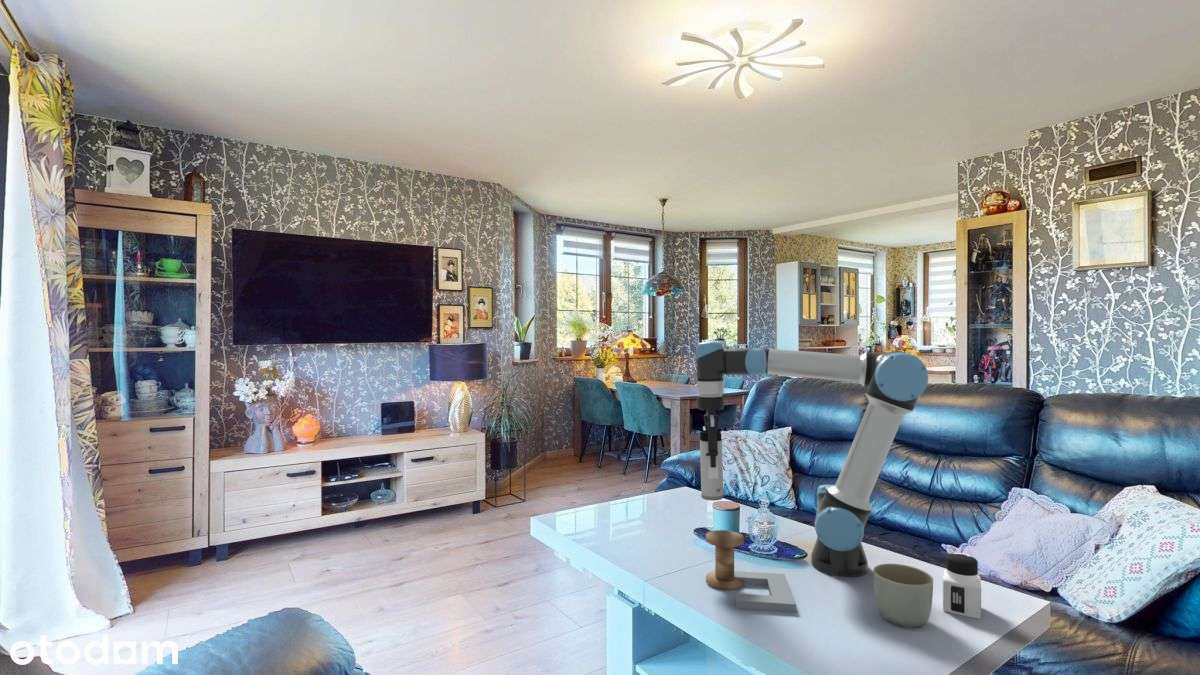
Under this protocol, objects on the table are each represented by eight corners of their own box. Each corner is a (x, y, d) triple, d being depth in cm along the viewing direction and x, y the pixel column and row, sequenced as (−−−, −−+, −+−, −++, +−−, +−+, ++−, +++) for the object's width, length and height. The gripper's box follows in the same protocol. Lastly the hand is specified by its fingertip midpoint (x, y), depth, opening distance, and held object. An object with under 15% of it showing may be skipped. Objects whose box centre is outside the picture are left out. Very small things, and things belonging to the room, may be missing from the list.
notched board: (784, 581, 158) (784, 573, 158) (795, 612, 140) (795, 604, 140) (731, 578, 160) (731, 570, 160) (736, 608, 142) (736, 600, 142)
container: (981, 620, 136) (981, 564, 136) (942, 611, 140) (942, 557, 140) (980, 606, 143) (980, 553, 143) (943, 599, 147) (943, 547, 147)
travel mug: (725, 501, 165) (723, 430, 165) (701, 500, 166) (699, 430, 166) (724, 495, 171) (722, 426, 171) (701, 494, 172) (699, 426, 172)
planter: (907, 638, 128) (907, 589, 128) (861, 613, 139) (861, 568, 139) (945, 627, 133) (945, 579, 133) (898, 604, 144) (898, 560, 144)
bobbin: (742, 575, 162) (742, 531, 162) (745, 591, 152) (745, 543, 152) (705, 573, 163) (705, 529, 163) (706, 588, 153) (706, 541, 153)
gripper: (696, 392, 179) (698, 468, 178) (698, 399, 159) (700, 483, 159) (721, 392, 177) (723, 468, 177) (726, 398, 158) (728, 483, 158)
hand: (712, 475), depth 168 cm, fingers closed on travel mug, 6 cm apart
